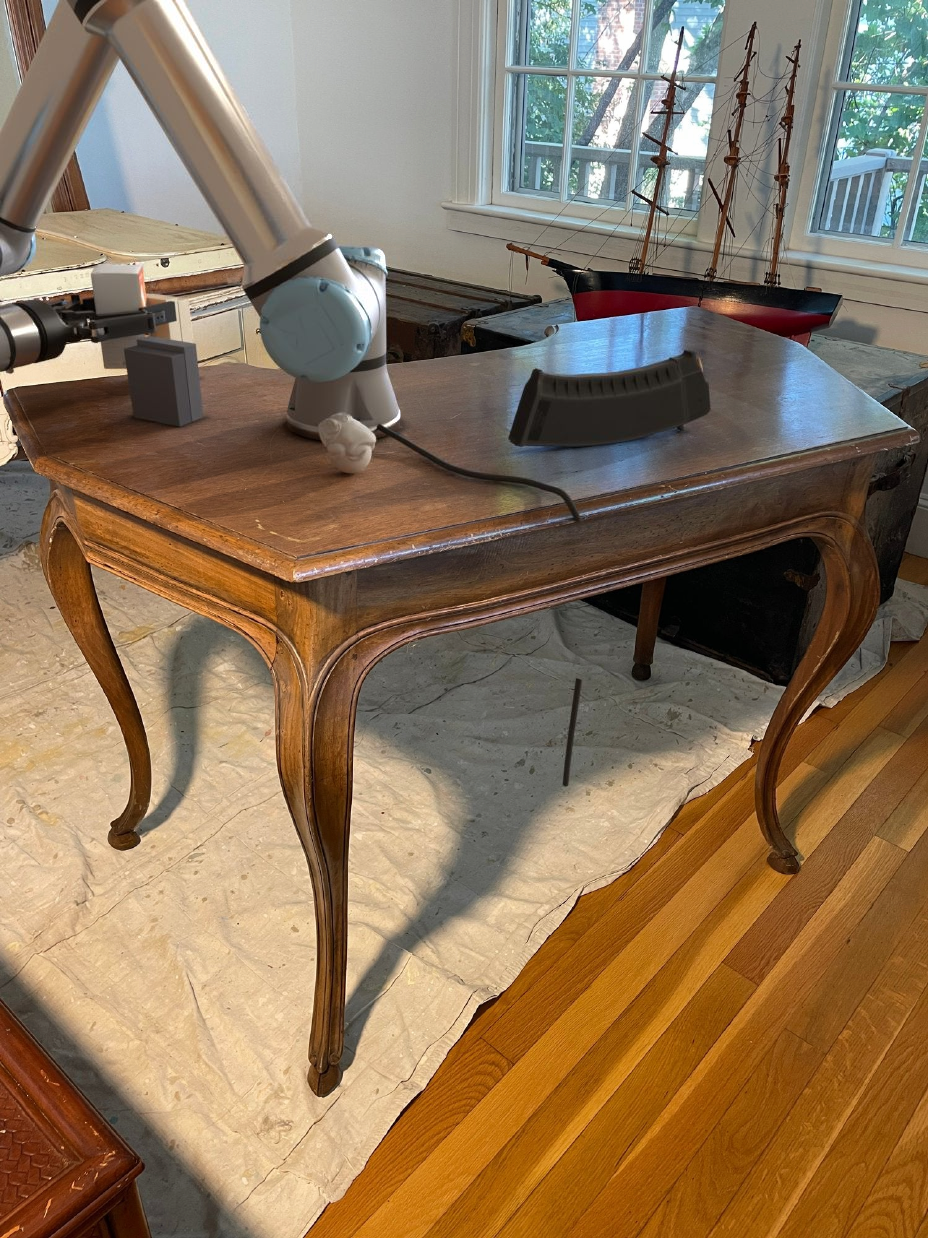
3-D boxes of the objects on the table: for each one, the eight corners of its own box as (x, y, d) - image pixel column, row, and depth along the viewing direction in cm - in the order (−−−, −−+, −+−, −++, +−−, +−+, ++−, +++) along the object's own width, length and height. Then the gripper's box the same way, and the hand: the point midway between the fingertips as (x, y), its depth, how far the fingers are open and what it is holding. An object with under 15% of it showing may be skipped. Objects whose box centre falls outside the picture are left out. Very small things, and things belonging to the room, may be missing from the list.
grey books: (203, 417, 126) (195, 343, 121) (179, 426, 122) (170, 350, 117) (158, 408, 129) (148, 335, 124) (133, 417, 125) (122, 342, 120)
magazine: (506, 388, 111) (704, 301, 118) (493, 381, 114) (688, 296, 121) (532, 508, 121) (713, 421, 129) (520, 499, 124) (698, 414, 131)
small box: (150, 369, 131) (138, 273, 125) (103, 369, 130) (89, 272, 124) (154, 355, 138) (143, 263, 132) (109, 355, 137) (96, 263, 130)
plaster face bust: (331, 459, 113) (329, 404, 110) (384, 467, 112) (384, 410, 108) (311, 476, 108) (308, 418, 105) (367, 484, 107) (366, 425, 103)
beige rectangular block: (197, 378, 143) (188, 294, 137) (176, 385, 139) (165, 300, 133) (162, 372, 145) (151, 289, 139) (140, 379, 141) (128, 294, 135)
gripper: (-34, 351, 122) (92, 322, 140) (93, 376, 114) (209, 342, 132) (-47, 292, 119) (84, 270, 136) (83, 314, 111) (204, 288, 128)
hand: (145, 306), depth 134 cm, fingers closed on small box, 10 cm apart
